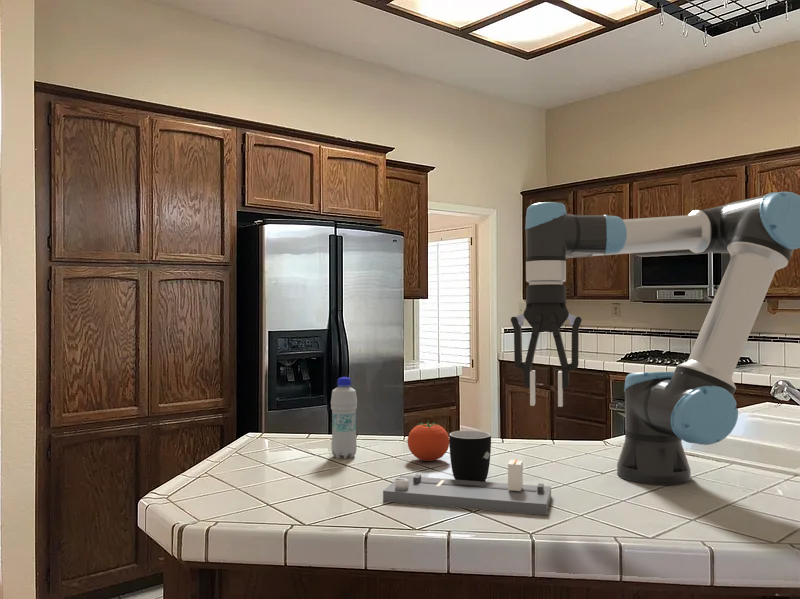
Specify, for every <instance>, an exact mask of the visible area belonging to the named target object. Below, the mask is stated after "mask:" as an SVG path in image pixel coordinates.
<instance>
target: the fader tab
mask: <svg viewBox="0 0 800 599" xmlns="http://www.w3.org/2000/svg"><path fill="white" fill-rule="evenodd" d="M523 463H524V461H523V460H518V459H517V458H516V459H510V460H509V461H508V463H507V483H508V490H514V491H521V489H522V487H523V485H524V481H523V480H524V479H523V478H524V477H523V476H524V475H523V473H524V472H523V471H524V470H523V469H524V467H523V466H524V464H523Z"/></svg>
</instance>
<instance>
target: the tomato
mask: <svg viewBox="0 0 800 599" xmlns="http://www.w3.org/2000/svg"><path fill="white" fill-rule="evenodd" d="M406 442H407V447H408V449H409V451H410V453H411V454H412V455H413V456H414V457H415V458H416V459H419V460H421V461H425V462H433V461H436V460H439V459H441V458H442V457H443V456H444V455H446V453H447V451H448V450H449V448H450V446H449V433H448V432H447V431H446V429H445V428H444V427H442V426H441V425H440V424H439V423H435V422H433V423H430V420H429V419H428V420H427V422H426V423H423V422H420V423H418V424H416V426H414V427H413V428H412V429H411V430H410V431H409V434H408V437H407V441H406Z"/></svg>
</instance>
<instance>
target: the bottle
mask: <svg viewBox="0 0 800 599" xmlns="http://www.w3.org/2000/svg"><path fill="white" fill-rule="evenodd" d="M336 381H337V382H336V383H337V385H336V386H337V387H335V388H334V389H332V391H331V399H330V409H331V421H332V422H331V428H332V429H331V432H332V433H331V434H332V435H331V445H330V446H331V453H332V456H333V457H334V458H337V459H341V457H342V456H343V459H344V460H345V459H347V458H348V457H349V458H350V459H351V458H354V456H356V453H357V451H358V450H357V448H358V447H357V434H356V433H357V432H356V431H357V429H356V427H357V422H356V421H357V413H356V412H357V408H358V398H357V391H356V389H354V388H353V387H351V385H352V379H351V378H350V377H348V376H342V377H339V378H338V379H337V380H336ZM341 455H342V456H341Z"/></svg>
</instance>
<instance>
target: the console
mask: <svg viewBox="0 0 800 599" xmlns="http://www.w3.org/2000/svg"><path fill="white" fill-rule="evenodd" d="M551 499H552V486H547V485H545V484H544V483H538V484H537V485H532V484H523V487H522V489H521V491H514V490H508V482H507V483H506V482H504V483H503V482H493V481H485V482H481V481H467V480H455V479H454V478H440V477H439V478H437V477H425V476H424V477H423V476H422V474H415V475H414V476H413V475H412V476H411V475H400V476H398V477H397V478H395V479H394V481H393V482H392V483H391V484H389V485H388V486H387V487H386V488H384V489H383V490H382V501H383V502H389V503H397V504H398V503H399V504H409V505H410V504H411V505H412V504H413V505H420V506H422V505H423V506H435V507H445V508H459V509H468V510H469V509H470V510H481V511H482V510H483V511H493V512H505V513H516V514H526V515H528V514H529V515H539V516H547V515H548V512H549V506H550V502H551Z"/></svg>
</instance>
